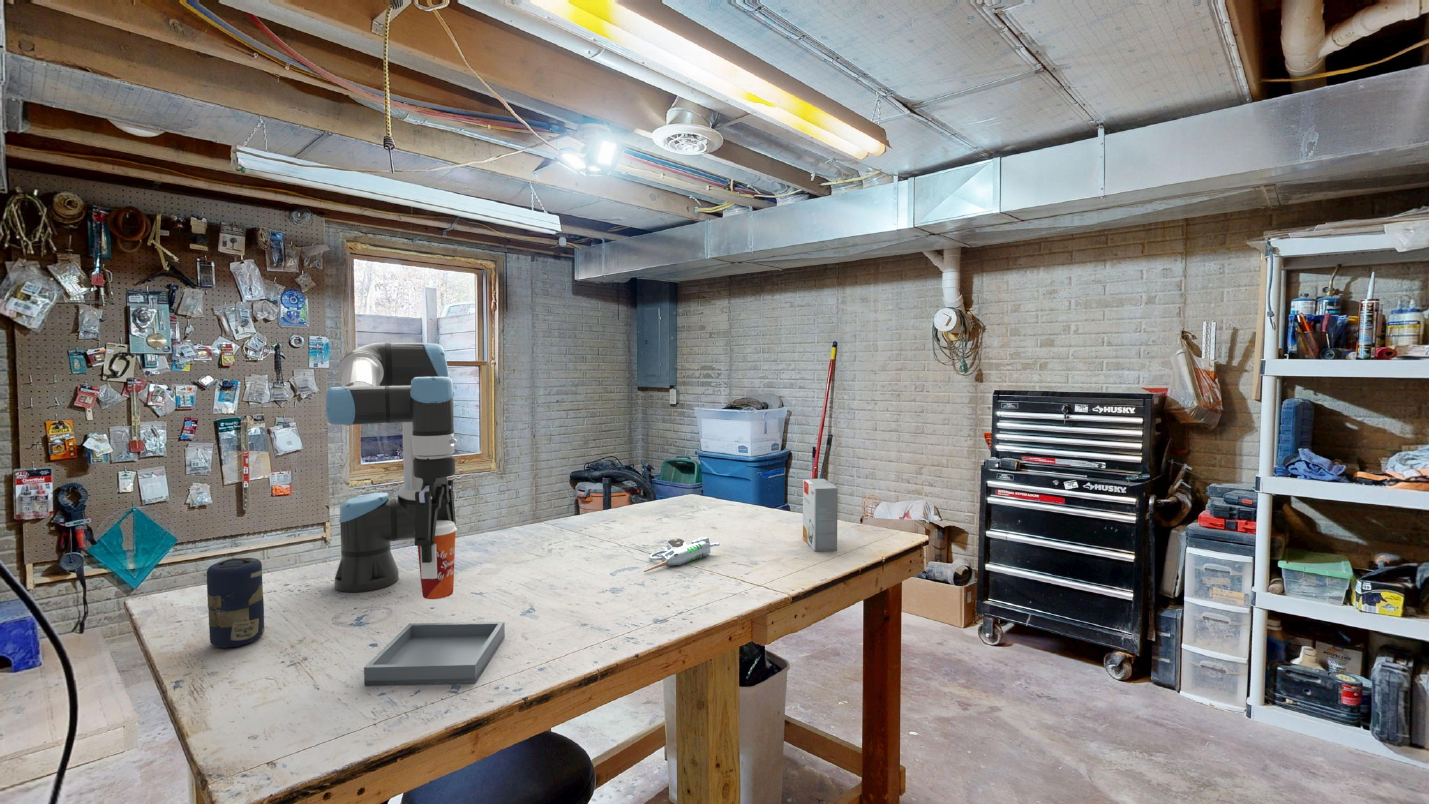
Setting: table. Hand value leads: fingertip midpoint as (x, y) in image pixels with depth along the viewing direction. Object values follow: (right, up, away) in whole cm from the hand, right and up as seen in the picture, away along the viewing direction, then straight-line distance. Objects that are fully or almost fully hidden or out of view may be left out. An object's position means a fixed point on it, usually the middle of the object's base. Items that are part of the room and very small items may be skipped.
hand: (437, 570), depth 130 cm
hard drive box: (+88, -13, +82) cm, 121 cm away
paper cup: (0, -5, 0) cm, 5 cm away
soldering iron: (+41, -14, +67) cm, 80 cm away
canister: (-47, -18, +10) cm, 51 cm away
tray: (0, -18, +1) cm, 18 cm away
